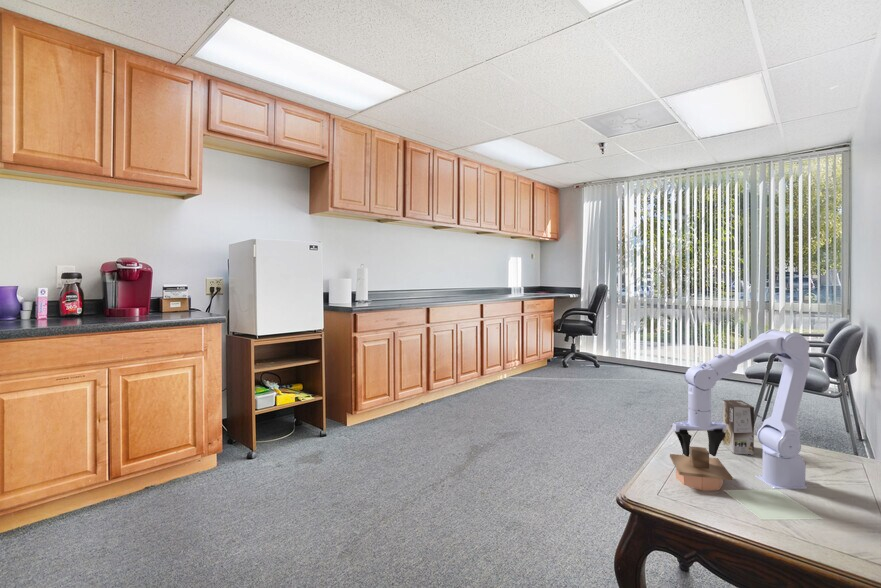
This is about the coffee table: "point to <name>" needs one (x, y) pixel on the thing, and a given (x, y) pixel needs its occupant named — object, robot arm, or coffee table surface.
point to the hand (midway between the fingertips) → (699, 455)
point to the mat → (772, 505)
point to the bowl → (700, 482)
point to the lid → (700, 465)
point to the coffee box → (738, 426)
